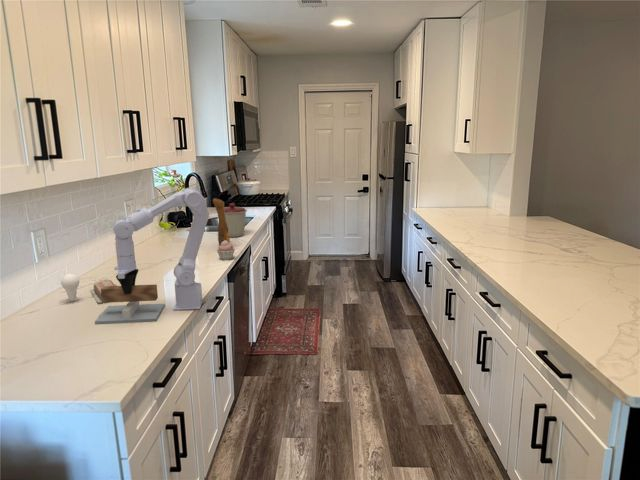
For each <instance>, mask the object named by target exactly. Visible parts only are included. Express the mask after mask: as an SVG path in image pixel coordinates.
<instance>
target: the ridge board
mask: <svg viewBox="0 0 640 480" xmlns="http://www.w3.org/2000/svg"><path fill="white" fill-rule="evenodd" d="M165 307H166V304H165V303H148V304H147V303H146V304H141V303H140V301H136V302H128V303H127V304H124V305H122V304H121V305H118V304H117V305H108V306H106V309H105V308H104V310H103V311H102V313H100V315H99V316H98V317H97V318H96V320H94V325H104V324H105V325H108V324H109V325H110V324H128V323H148V322H149V323H150V322H157V321H158V319H159V318H160V316H161V314H162V313H163V310H164V308H165Z"/></svg>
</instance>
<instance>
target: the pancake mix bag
mask: <svg viewBox="0 0 640 480" xmlns="http://www.w3.org/2000/svg"><path fill="white" fill-rule="evenodd" d="M212 203H213V205H214V208H215V210H216V213H217V219H218V224H217V226H218V229H217V241H218V247H219V246H220V245H221V243H222V242H223V241H225V240H226V241H228V243H231V239H230V237H229V233H228V227H227V222H226V218H225V210H224V207H225V202H224V201H223V200H222V199H219V198H215V197H214V198H213V199H212Z"/></svg>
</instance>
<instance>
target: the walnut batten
mask: <svg viewBox="0 0 640 480" xmlns="http://www.w3.org/2000/svg"><path fill="white" fill-rule="evenodd" d="M158 296H159V295H158V284H137V285H136V284H135V285H132V292H131V294H124V291H123V289H122V286H121V285H117V286H103V287H102V288H101V297H102V303H104V304H108V303H110V304H111V303H127V302H128V303H129V302H136V301H139V302H155V301H157V300H158V298H159V297H158Z"/></svg>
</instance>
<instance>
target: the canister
mask: <svg viewBox="0 0 640 480" xmlns="http://www.w3.org/2000/svg"><path fill="white" fill-rule="evenodd" d="M224 210H225V218H226V222H227V227H228V233H229V238H239V237H242V236H243V235H244V233H245V227H246V217H247V215H246V214H247V211H248V209H246V208H245V207H242V206H241V207H240V206H236V204H235V203H234V202H232V203H229V205H228V206H224Z"/></svg>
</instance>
